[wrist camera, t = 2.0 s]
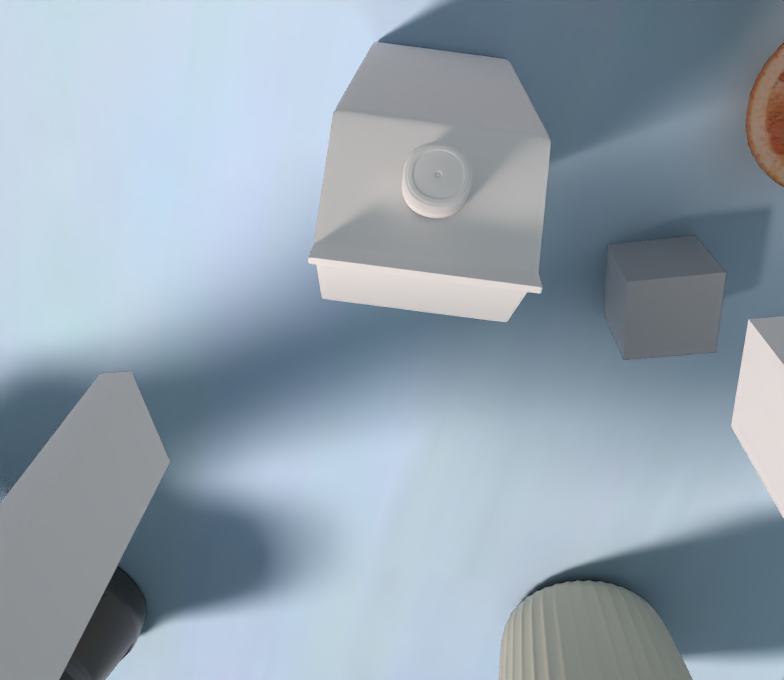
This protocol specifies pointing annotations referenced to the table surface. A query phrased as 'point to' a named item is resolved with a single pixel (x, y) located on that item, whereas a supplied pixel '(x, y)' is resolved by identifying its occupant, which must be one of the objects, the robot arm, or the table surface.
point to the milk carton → (433, 186)
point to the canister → (588, 637)
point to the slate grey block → (663, 297)
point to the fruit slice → (768, 117)
